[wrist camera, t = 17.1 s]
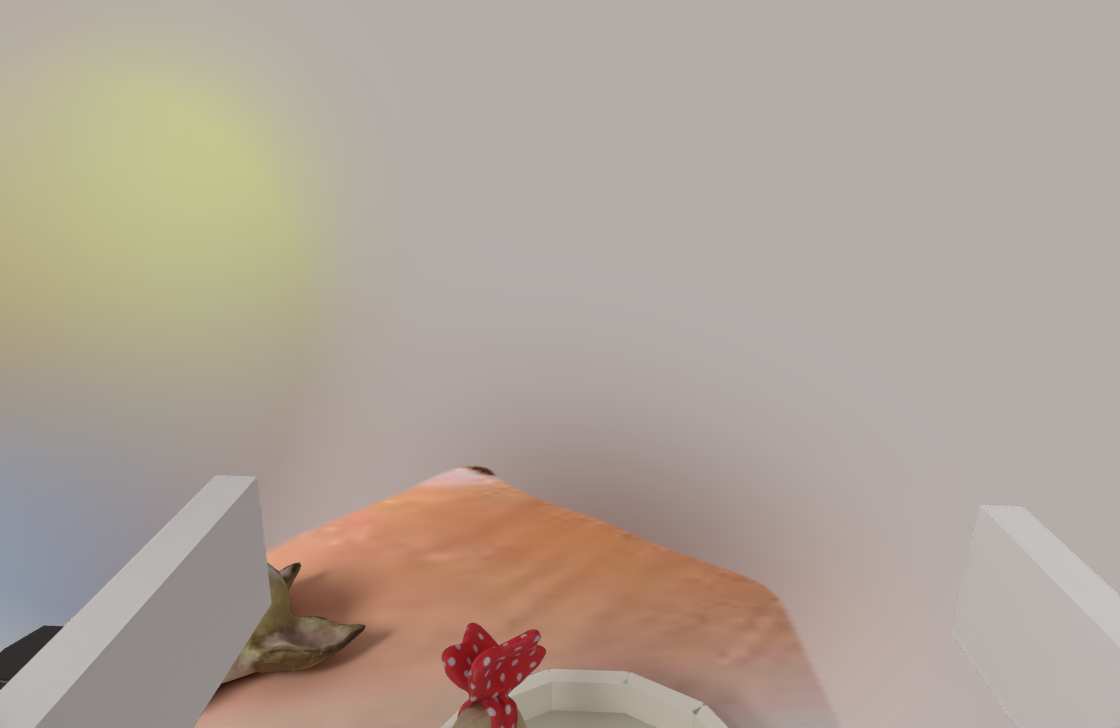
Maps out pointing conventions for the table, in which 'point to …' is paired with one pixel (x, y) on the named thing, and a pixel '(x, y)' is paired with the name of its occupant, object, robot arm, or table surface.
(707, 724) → the cream dish
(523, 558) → the table surface
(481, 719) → the bird rattle
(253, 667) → the ceramic sculpture
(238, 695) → the table surface
